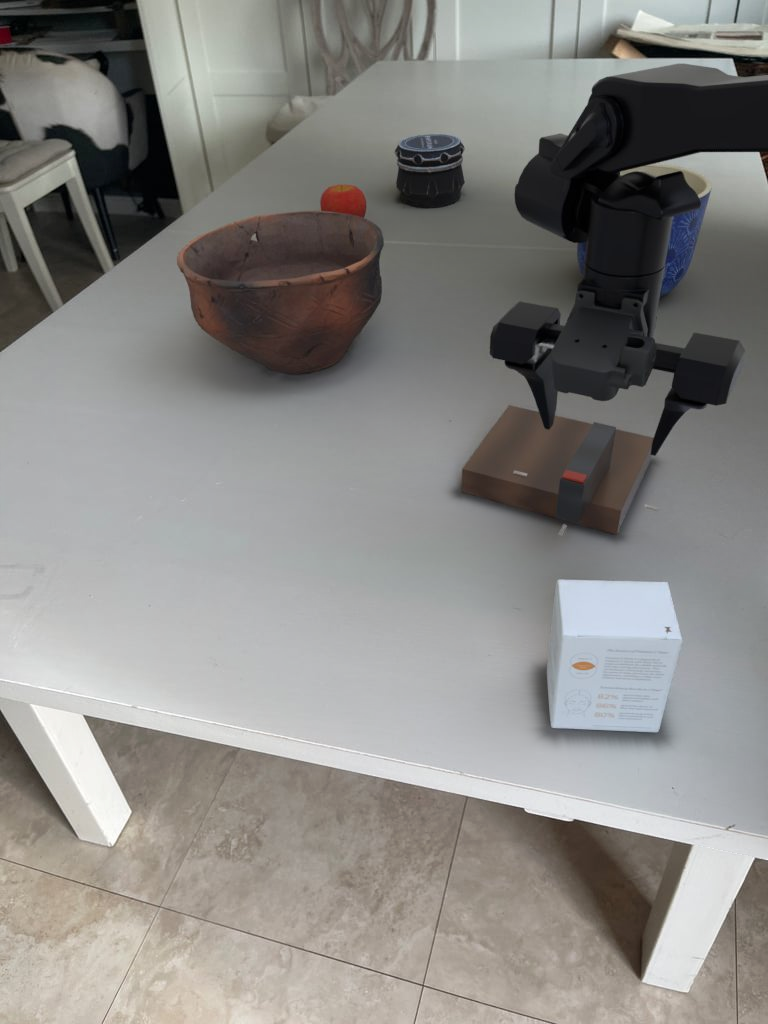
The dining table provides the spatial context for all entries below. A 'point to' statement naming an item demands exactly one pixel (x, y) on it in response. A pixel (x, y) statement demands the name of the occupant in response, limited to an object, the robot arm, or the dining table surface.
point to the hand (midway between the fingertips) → (600, 439)
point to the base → (553, 467)
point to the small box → (611, 654)
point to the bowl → (286, 286)
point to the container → (430, 170)
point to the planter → (674, 226)
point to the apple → (344, 200)
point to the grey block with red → (585, 472)
